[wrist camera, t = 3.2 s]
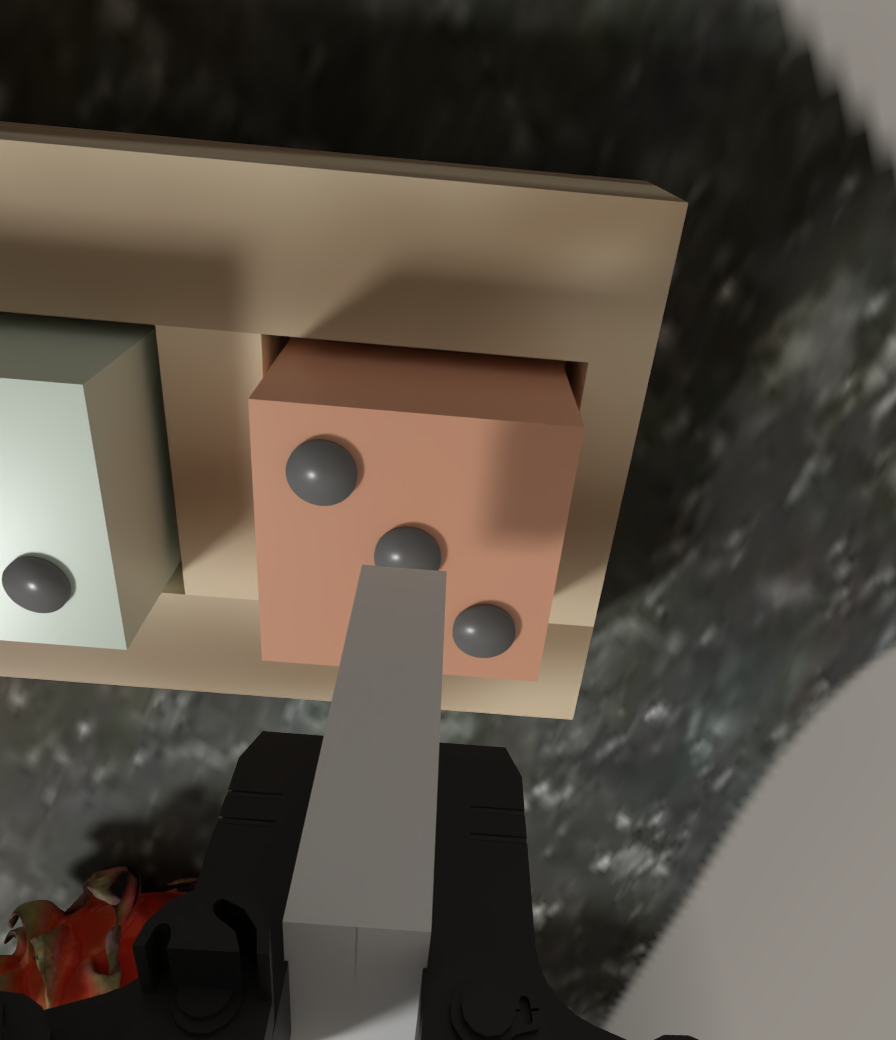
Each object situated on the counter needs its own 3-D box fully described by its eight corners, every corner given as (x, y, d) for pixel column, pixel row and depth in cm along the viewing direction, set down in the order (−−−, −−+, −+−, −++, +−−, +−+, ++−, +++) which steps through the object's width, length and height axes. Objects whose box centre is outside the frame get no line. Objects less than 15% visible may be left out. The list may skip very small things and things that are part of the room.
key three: (290, 337, 18) (245, 401, 14) (561, 361, 18) (585, 430, 14) (295, 565, 21) (260, 664, 17) (525, 583, 21) (537, 686, 17)
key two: (-120, 302, 18) (-271, 357, 14) (158, 326, 18) (78, 387, 14) (-51, 537, 21) (-160, 631, 17) (183, 556, 21) (124, 654, 17)
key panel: (-573, 68, 18) (-824, 63, 14) (646, 181, 18) (688, 202, 15) (-321, 564, 25) (-449, 642, 21) (558, 633, 25) (572, 719, 22)
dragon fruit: (35, 890, 36) (256, 790, 34) (94, 1074, 34) (328, 976, 33) (-129, 977, 27) (155, 849, 26) (-60, 1225, 26) (245, 1101, 25)
